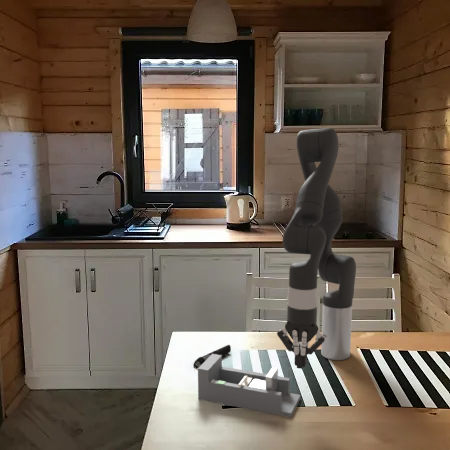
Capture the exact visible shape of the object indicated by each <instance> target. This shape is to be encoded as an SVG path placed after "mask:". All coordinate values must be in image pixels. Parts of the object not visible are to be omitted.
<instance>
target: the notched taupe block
mask: <svg viewBox="0 0 450 450" xmlns="http://www.w3.org/2000/svg"><path fill="white" fill-rule="evenodd" d="M278 368H279V367H274V366H272V367H271V368H270V369H269V371H268V373H266V374H267V375H266V380H263V379H258V378H254V379H253V381H252V382H251V384H250V385H249V387H255V388H260V389H266V390H271V391H276V390H277V389H278V376H279V369H278Z"/></svg>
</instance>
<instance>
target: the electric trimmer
mask: <svg viewBox="0 0 450 450" xmlns="http://www.w3.org/2000/svg"><path fill="white" fill-rule="evenodd" d="M231 347H232V346H231V345H230V344H227V345H224V346H222V347H221V348H218V349H216V350H214V351H211V352H210V353H207V354H205V355H203V356H199V357H198V358H196V359H195V361H194V362H193V368H196V369H198V368H199V367H200V366H201V365H202V364H203V363H204V362H205V361H206V360H207V359H208V358H209V357H210V355H211V354H217V355H222V359H223V358H225V357H226V356H227V355H229V354H230V353H231V351H232V349H231Z"/></svg>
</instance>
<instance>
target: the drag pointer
mask: <svg viewBox="0 0 450 450" xmlns="http://www.w3.org/2000/svg"><path fill="white" fill-rule="evenodd" d="M252 381H253V378H252V377H248V376H244V378H243V379H242V380H241V381H240V383H239V384H238V386H241V385H244V386H249V385H250V384H251V382H252Z"/></svg>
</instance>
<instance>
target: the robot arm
mask: <svg viewBox="0 0 450 450" xmlns="http://www.w3.org/2000/svg"><path fill="white" fill-rule="evenodd" d="M339 145H340V143H339V136H338V133H337V131H336V129H334V128H332V127H322V128H313V129H312V128H311V129H305V130H300V131H299V132H298V133H297V136H296V150H297V157H298V161H299V163H300V166H301V168H300V169H301V171H302V175H303V178H304V183H303V184H302V185H301V186H300V188H299V190H298V194H297V197H296V203H295V208H294V212H293V215H292V217H291V219H290V220H289V222H288V223H287V226H286V228H285V229H284V232H283V235H282V246H283V248H284V250H285V251H286V252H287V253H290V254H298V255H299V254H300V255H310V256H309V258H308V259H306V260H302V261H296V262H293V263H291V264H290V266H289V271H288V275H289V276H288V292H287V298H286V299H287V300H286V303H287V307H286V311H287V312H286V323H285V325H284V327H283V328H279V329H278V331H277V332H276V335H277V336H278V338H279V339H280V341H281V342H282V344H283V345H284V347H285V348H286V350H287V351H288V352H292V353H293V354H294V366H296V368H297V369H301V370H302V369H304V368H305V367H306V366H307V358H308V355H313V353H315V351H316V350H317V349H318V348H320V346H321V349H320V350H321V351H320V354H321V355H322V357H324V358H326V359H329V360H333V361H343V360H344V361H345V360H347V359H349V358H350V357H351V342H352V340H351V339H352V321H353V320H352V318H353V317H352V316H353V301H354V300H353V299H354V294H355V284H356V283H355V282H356V275H357V273H356V272H357V264H356V260H355V258H354V257H353V256H350V255H343V254H338V253H334V252H333V249H332V242H333V239H334V237H335V235H336V234H337V232H338V231H339V229H340V227H341V225H342V222H343V218H344V217H343V211H342V210H343V209H342V203H341V199H340V197H339V194H337V192H336V191H335V189H333V187H332V186H330V183H329V182H330V179H331V177H332V174H333V170H334V168H335V165H336V162H337V158H338V154H339ZM316 163H319V164H318V165H317V166H316ZM318 275H319V278H320V279H321V280H322V281H324V282H327V283H331V284H334V285H335V284H336V285H338V286H339V287H338V290H331V291H328V292H325V293H324V294H323V296H322V316H321V332H320V331H319V326H318V324H317V322H318V319H317V318H318V298H319V297H318V296H319V295H318ZM314 337H315V342H314V343H313V344H312V345H311V346H309V343H310V342H311V341H312V339H313V338H314Z"/></svg>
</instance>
